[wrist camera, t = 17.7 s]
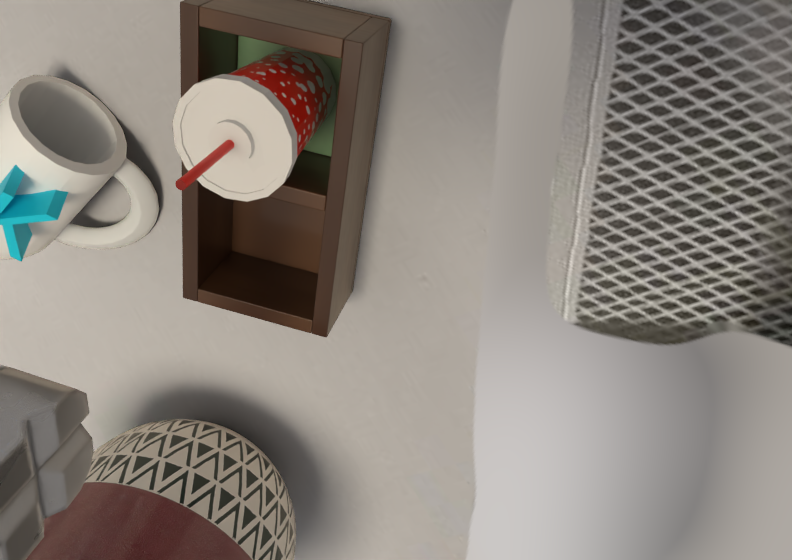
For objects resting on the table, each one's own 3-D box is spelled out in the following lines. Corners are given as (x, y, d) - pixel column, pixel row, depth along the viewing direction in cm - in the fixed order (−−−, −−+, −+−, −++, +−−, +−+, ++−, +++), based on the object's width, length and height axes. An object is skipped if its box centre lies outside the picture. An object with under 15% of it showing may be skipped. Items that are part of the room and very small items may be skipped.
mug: (-106, 266, 45) (-21, 150, 38) (-52, 168, 51) (29, 54, 44) (78, 344, 51) (176, 256, 45) (107, 249, 57) (196, 159, 51)
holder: (220, 255, 51) (182, 297, 46) (227, -18, 41) (179, 1, 37) (352, 291, 50) (326, 338, 45) (391, 18, 40) (363, 43, 35)
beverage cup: (311, 12, 40) (189, 87, 28) (369, 111, 42) (277, 219, 31) (228, 63, 43) (85, 151, 31) (285, 154, 45) (172, 268, 33)
